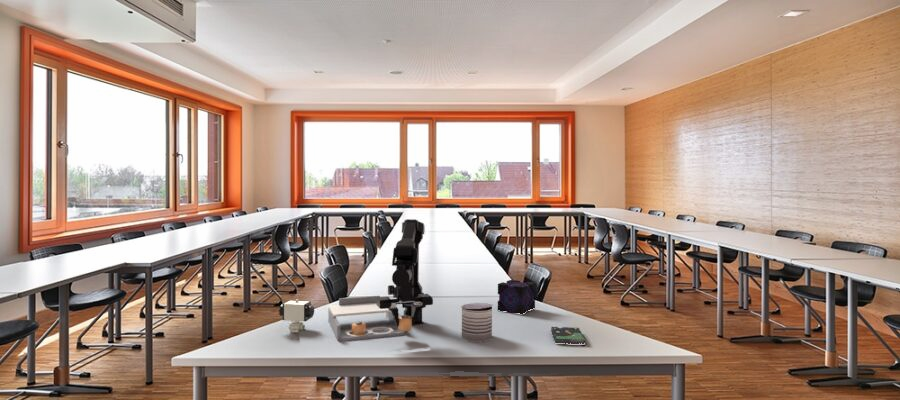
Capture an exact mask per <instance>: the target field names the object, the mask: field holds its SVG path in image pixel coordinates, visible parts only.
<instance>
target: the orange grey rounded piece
mask: <svg viewBox="0 0 900 400" xmlns="http://www.w3.org/2000/svg"><path fill="white" fill-rule="evenodd" d="M412 328H413V325H412V317H411V316H408V315H404V314H401V316H399V326H398V330H400V331H405V332H409V331H411V330H413V329H412Z"/></svg>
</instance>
